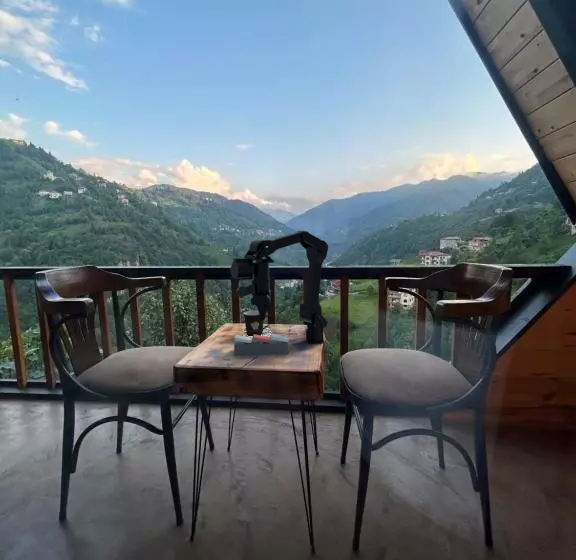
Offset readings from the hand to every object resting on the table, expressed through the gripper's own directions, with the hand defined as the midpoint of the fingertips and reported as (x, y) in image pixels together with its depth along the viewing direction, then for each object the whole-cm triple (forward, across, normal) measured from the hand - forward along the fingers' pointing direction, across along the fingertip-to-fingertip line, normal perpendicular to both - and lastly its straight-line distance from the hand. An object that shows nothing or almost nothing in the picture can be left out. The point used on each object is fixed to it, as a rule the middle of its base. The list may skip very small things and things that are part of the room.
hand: (262, 320), depth 127 cm
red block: (+7, 0, 0) cm, 7 cm away
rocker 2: (+7, 0, +6) cm, 9 cm away
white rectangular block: (+7, 0, -7) cm, 10 cm away
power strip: (+12, -2, 0) cm, 12 cm away
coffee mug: (+12, -22, -3) cm, 25 cm away
